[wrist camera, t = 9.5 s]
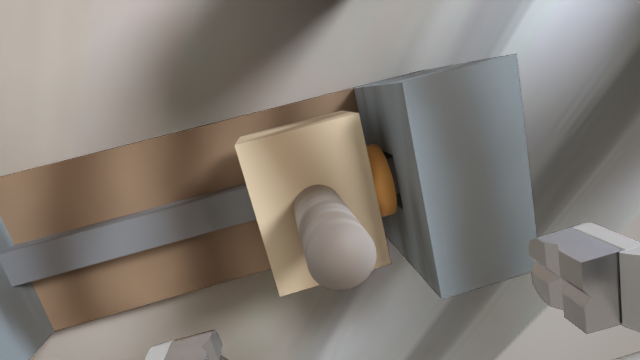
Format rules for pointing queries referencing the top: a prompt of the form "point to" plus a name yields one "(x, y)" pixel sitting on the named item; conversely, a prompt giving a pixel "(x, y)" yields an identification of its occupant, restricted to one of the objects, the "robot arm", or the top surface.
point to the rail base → (140, 191)
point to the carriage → (315, 202)
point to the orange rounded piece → (383, 179)
